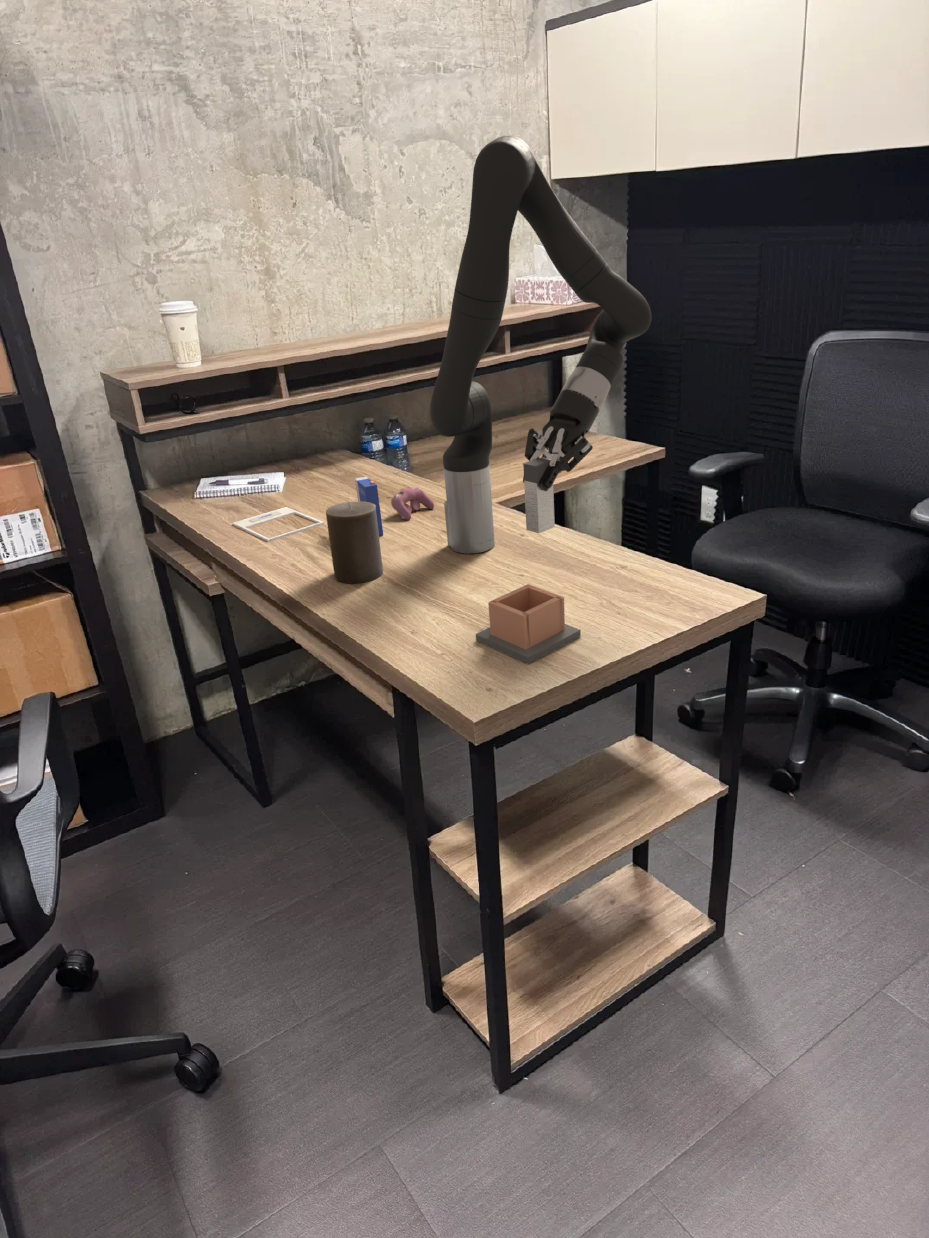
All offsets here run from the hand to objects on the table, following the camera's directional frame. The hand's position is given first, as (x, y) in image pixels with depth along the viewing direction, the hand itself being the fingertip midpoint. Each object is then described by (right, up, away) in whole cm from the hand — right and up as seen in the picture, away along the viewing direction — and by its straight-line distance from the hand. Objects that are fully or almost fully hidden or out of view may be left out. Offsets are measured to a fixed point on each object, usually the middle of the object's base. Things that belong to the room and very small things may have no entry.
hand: (534, 486), depth 143 cm
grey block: (+1, -7, +4) cm, 8 cm away
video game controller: (-24, +2, +54) cm, 59 cm away
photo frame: (-56, -1, +55) cm, 78 cm away
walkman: (-33, -3, +45) cm, 55 cm away
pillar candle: (-33, -14, +23) cm, 43 cm away
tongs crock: (-2, -26, -7) cm, 27 cm away
